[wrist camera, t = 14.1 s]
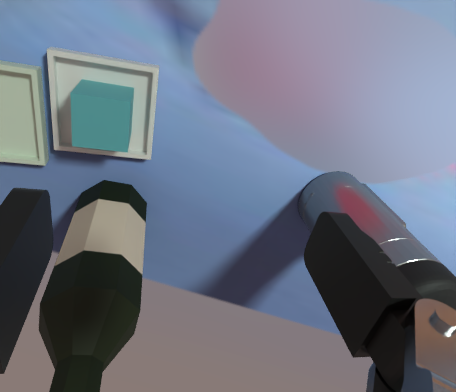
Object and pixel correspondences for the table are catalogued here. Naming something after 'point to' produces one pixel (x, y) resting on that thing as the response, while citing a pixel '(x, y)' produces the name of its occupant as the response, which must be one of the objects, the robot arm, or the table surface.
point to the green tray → (22, 115)
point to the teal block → (101, 115)
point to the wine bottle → (94, 286)
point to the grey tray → (106, 73)
